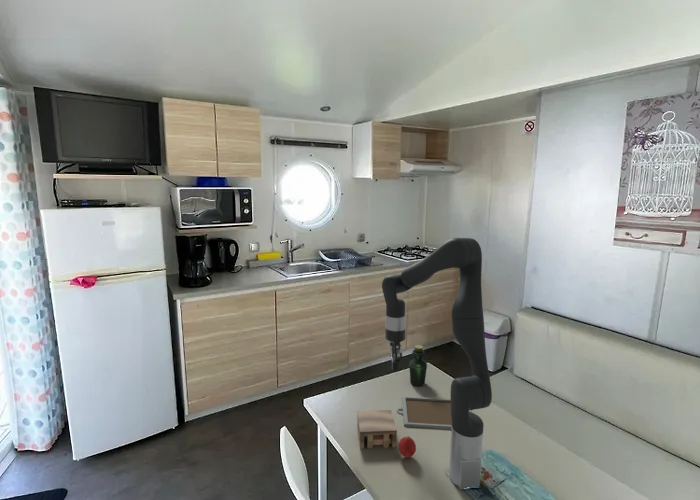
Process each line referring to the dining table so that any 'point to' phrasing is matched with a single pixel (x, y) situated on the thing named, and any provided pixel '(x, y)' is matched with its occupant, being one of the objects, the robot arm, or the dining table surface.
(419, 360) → the potion bottle
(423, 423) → the grey framed board
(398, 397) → the dining table surface
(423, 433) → the dining table surface
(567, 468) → the dining table surface
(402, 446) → the onion
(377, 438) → the tile
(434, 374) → the dining table surface
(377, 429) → the cubby
